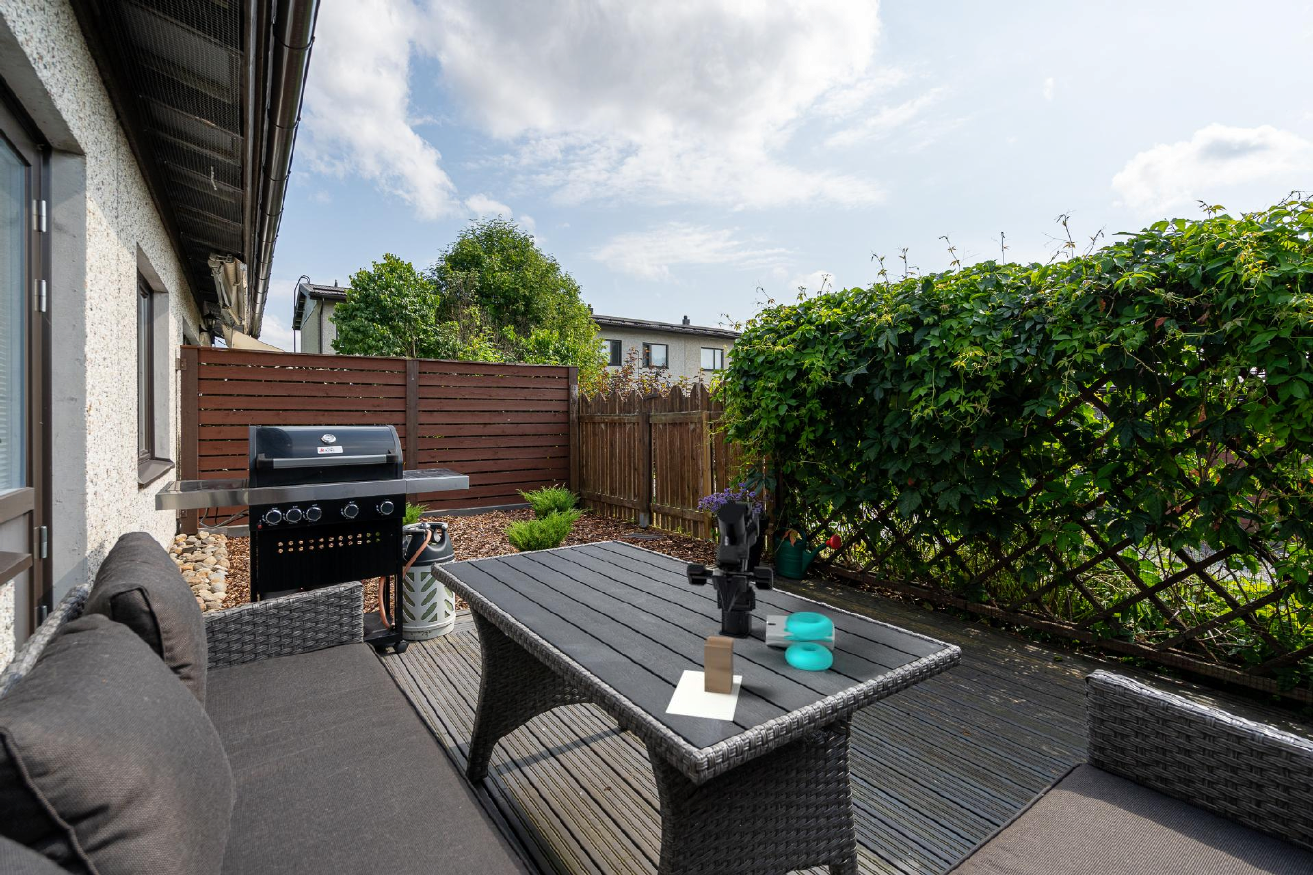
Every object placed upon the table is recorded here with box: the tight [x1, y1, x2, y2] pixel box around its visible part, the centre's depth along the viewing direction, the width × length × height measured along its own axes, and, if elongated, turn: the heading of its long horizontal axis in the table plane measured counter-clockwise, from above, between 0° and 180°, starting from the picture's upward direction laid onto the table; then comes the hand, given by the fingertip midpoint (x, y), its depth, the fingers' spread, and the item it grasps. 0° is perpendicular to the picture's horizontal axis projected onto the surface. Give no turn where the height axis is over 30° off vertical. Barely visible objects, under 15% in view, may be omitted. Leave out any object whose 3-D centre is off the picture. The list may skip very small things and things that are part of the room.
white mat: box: [665, 669, 743, 722], centre depth 116 cm, size 18×12×1 cm, turn 166°
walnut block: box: [703, 635, 734, 694], centre depth 118 cm, size 5×5×9 cm
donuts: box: [784, 611, 834, 672], centre depth 130 cm, size 10×10×10 cm
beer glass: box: [765, 614, 836, 651], centre depth 139 cm, size 7×7×15 cm
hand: (726, 612), depth 129 cm, fingers closed
